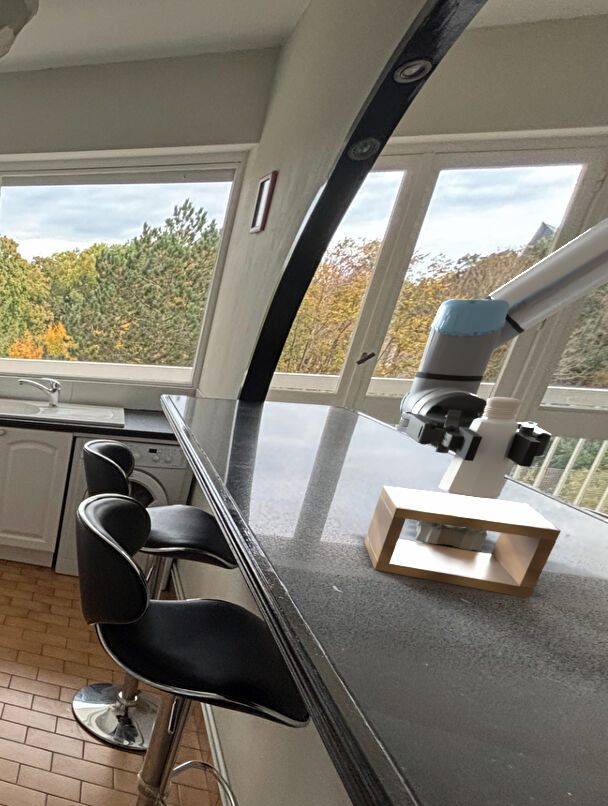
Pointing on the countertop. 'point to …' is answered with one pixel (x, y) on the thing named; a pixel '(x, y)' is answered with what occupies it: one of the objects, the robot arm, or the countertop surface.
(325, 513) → the countertop surface
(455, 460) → the pepper shaker
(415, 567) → the frame
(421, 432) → the robot arm
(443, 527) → the grey bumpy bar
